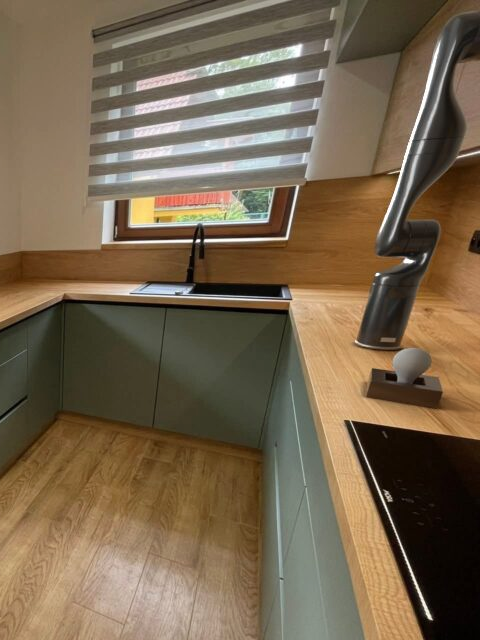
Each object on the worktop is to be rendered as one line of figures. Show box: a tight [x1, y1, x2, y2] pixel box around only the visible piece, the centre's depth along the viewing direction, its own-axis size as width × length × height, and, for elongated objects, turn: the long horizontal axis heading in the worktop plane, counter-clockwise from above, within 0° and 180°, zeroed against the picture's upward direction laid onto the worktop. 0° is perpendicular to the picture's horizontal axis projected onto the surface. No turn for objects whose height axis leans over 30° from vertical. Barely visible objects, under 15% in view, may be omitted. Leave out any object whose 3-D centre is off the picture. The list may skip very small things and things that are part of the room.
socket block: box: [365, 367, 444, 409], centre depth 88 cm, size 10×10×4 cm
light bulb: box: [392, 347, 433, 384], centre depth 86 cm, size 6×6×10 cm
